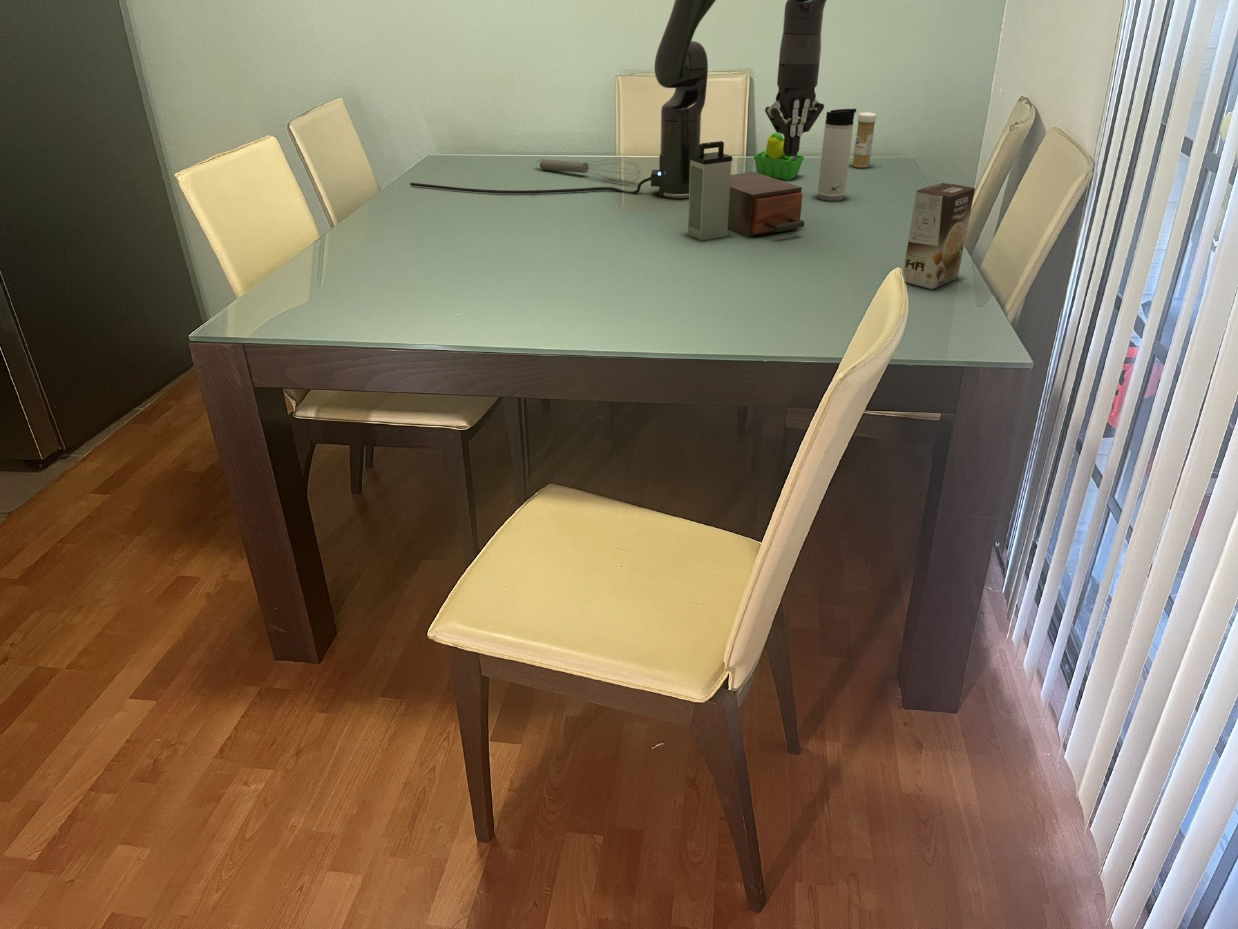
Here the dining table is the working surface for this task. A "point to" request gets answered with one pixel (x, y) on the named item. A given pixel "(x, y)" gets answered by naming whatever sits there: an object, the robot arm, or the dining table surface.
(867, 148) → the sprinkles bottle
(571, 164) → the kitchen whisk
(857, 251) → the dining table surface
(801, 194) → the drawer
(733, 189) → the cabinet
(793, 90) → the robot arm
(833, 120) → the travel mug
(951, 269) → the coffee box
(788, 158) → the fruit basket
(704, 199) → the grater
